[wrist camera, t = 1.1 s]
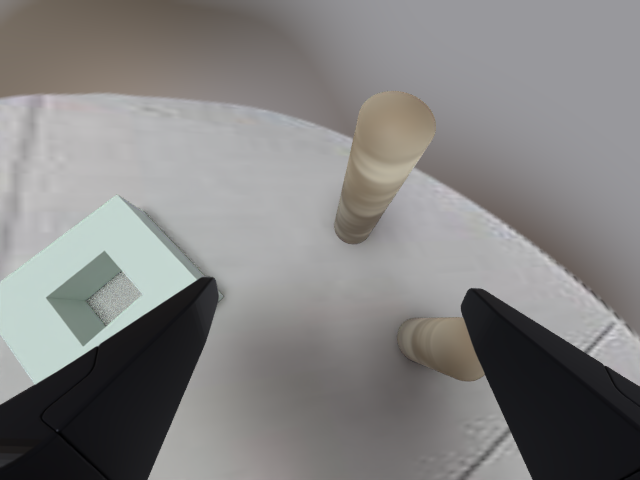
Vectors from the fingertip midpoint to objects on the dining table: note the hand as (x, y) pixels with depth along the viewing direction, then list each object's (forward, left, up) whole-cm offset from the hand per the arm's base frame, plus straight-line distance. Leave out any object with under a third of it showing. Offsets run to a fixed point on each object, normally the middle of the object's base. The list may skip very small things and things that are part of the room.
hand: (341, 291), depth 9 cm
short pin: (-8, -4, -14) cm, 17 cm away
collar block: (+13, +11, -14) cm, 23 cm away
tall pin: (+3, -8, -14) cm, 17 cm away
